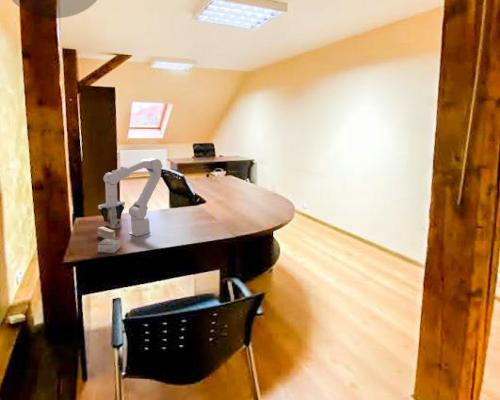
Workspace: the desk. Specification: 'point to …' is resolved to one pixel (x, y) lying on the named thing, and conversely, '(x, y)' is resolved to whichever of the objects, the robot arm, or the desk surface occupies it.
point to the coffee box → (113, 217)
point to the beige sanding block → (106, 233)
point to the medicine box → (109, 245)
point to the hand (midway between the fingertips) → (112, 220)
